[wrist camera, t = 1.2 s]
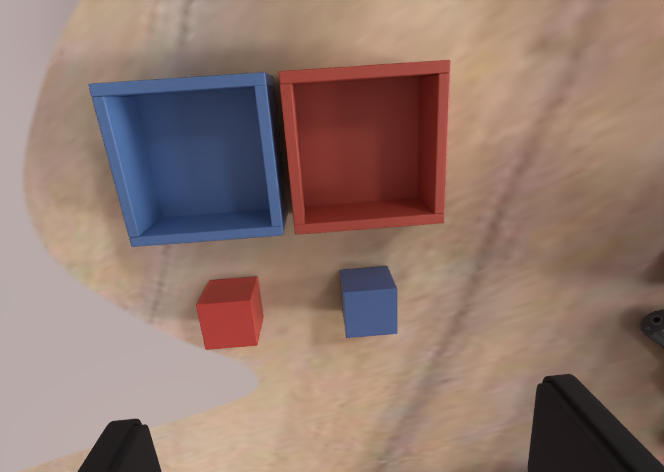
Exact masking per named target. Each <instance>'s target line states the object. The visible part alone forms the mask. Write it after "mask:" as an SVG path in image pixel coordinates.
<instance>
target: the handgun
mask: <svg viewBox="0 0 664 472" xmlns="http://www.w3.org/2000/svg"><path fill="white" fill-rule="evenodd" d="M641 330H642V331H643V332H644V334H645V335H647V336H648V337H649V338H651V339H652V340H654V341H655V342H657V343H658V344H660V345H661V346H662V347H664V310H659V311H655V312H653V313H651V314H650V315H649V316H648V317H647V318H646V319H645V324H644V325H643V326H641Z"/></svg>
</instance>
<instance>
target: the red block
mask: <svg viewBox="0 0 664 472" xmlns="http://www.w3.org/2000/svg"><path fill="white" fill-rule="evenodd" d="M196 307H197V312H198V316H199V321H200V326H201V330H202V335H203V340H204V344H205V349H206V350H209V349H221V348H233V347H245V346H256V345H258V340H259V336H260V331H261V327H262V322H263V310H262V304H261V297H260V290H259V283H258V277H257V276H256V277H244V278H231V279H219V280H209V282H208V284H207V286H206V288H205V289H204V291H203V293H202V295H201V297H200V298H199V300H198V302H197V304H196Z"/></svg>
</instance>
